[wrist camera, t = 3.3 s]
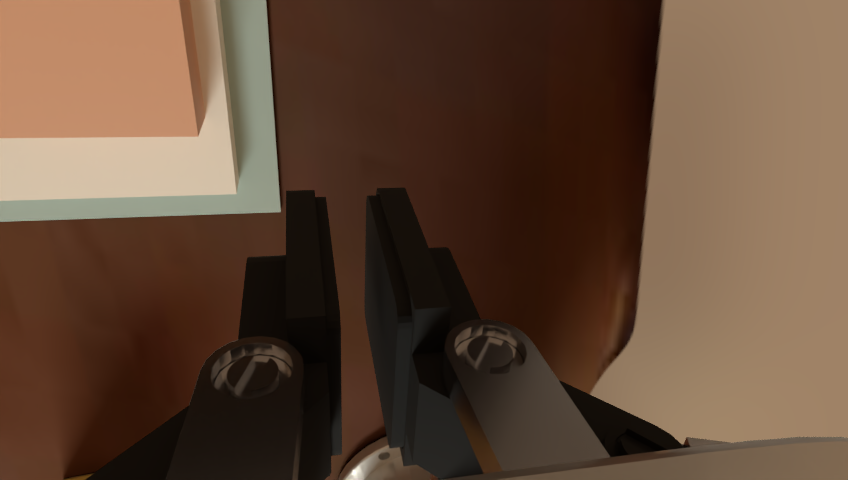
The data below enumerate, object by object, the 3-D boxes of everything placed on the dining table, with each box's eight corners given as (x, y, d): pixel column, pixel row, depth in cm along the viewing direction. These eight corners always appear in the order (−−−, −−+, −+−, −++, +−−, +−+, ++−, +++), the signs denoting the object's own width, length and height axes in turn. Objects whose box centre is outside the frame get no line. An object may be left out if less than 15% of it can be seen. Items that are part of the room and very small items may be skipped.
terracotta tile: (186, -26, 23) (176, -17, 21) (205, 116, 26) (198, 136, 24) (-39, -37, 22) (-74, -28, 20) (9, 117, 25) (-16, 138, 23)
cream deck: (204, -140, 23) (199, -141, 21) (239, 179, 30) (236, 194, 29) (-151, -170, 20) (-184, -174, 19) (-21, 185, 28) (-38, 201, 26)
